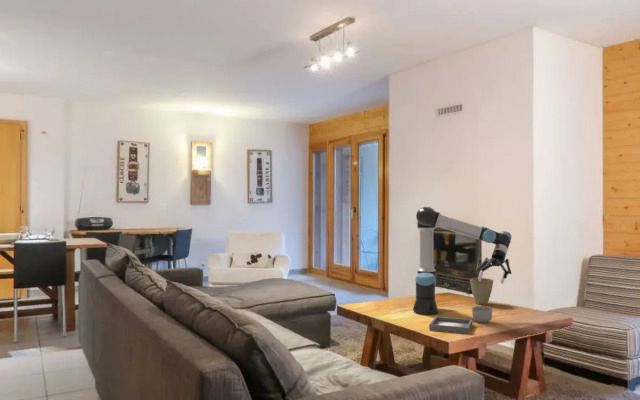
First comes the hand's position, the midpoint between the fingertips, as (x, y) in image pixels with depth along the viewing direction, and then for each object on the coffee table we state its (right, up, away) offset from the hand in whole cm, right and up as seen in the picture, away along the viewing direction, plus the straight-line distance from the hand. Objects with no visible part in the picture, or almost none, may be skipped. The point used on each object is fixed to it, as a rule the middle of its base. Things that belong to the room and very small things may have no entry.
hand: (490, 281), depth 289 cm
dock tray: (-28, -21, -22) cm, 42 cm away
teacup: (-7, -22, -8) cm, 24 cm away
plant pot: (+9, -22, +42) cm, 48 cm away
